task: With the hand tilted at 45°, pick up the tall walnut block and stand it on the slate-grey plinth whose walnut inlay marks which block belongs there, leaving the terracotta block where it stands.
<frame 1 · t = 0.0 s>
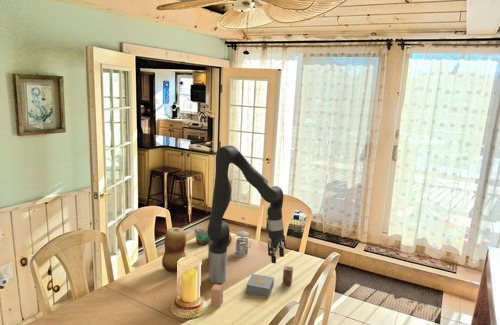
hand: (277, 259, 174), 22 cm above the table, tool pointing down, fingers open, 8 cm apart
flask: (215, 261, 217), on the table
food container: (201, 244, 241), on the table
bread roll: (223, 242, 247), on the table
butternut squash: (174, 270, 204), on the table
terracotta block: (216, 304, 173), on the table
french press: (242, 254, 229), on the table
walnut block: (287, 283, 196), on the table
slate plinth: (260, 289, 188), on the table
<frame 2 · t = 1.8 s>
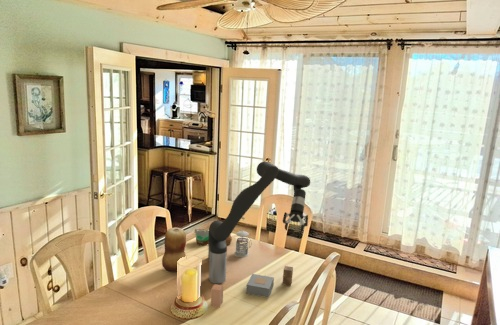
hand: (293, 231, 202), 26 cm above the table, tool tilted 45°, fingers open, 8 cm apart
nothing on the table moved.
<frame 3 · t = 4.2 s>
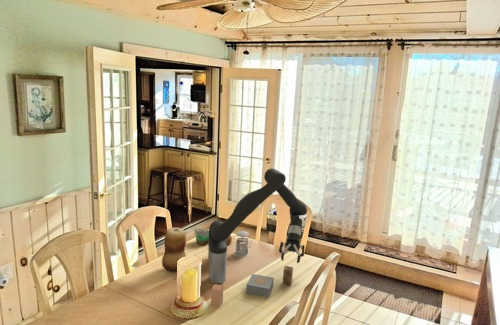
hand: (290, 261, 199), 10 cm above the table, tool tilted 45°, fingers open, 8 cm apart
nothing on the table moved.
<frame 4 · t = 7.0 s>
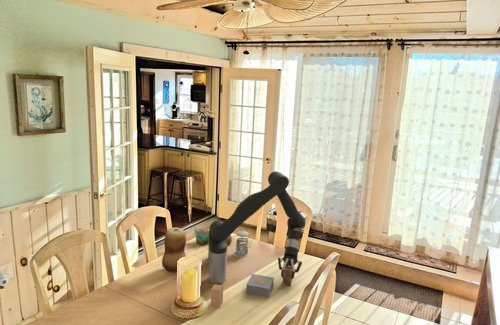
hand: (287, 278, 193), 4 cm above the table, tool tilted 45°, fingers closed on walnut block, 4 cm apart
walnut block: (287, 283, 196), on the table, touching gripper
everything else where it was.
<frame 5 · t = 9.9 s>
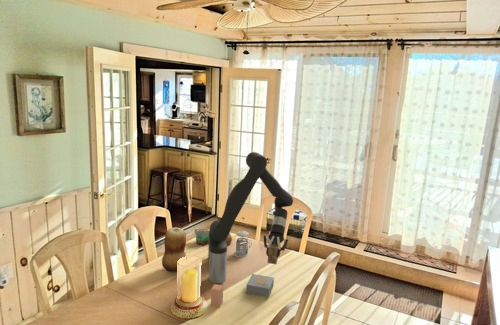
hand: (272, 256, 186), 19 cm above the table, tool tilted 45°, fingers closed on walnut block, 4 cm apart
walnut block: (272, 261, 189), point 15 cm above the table, touching gripper
everything else where it was.
when the fingers open (11 cm above the table, at t = 13.1 s): walnut block drops 1 cm, resting on slate plinth.
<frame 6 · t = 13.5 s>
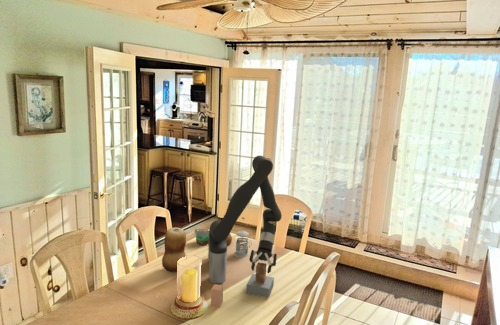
hand: (260, 271, 185), 11 cm above the table, tool tilted 45°, fingers open, 8 cm apart
walnut block: (260, 280, 187), point 5 cm above the table, touching slate plinth
everything else where it was.
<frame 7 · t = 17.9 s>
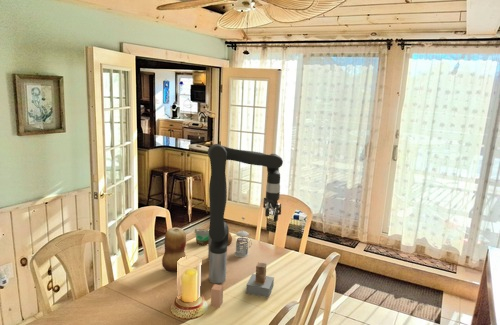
hand: (271, 218, 197), 34 cm above the table, tool pointing down, fingers open, 8 cm apart
nothing on the table moved.
at the end: walnut block inside the target area on the slate plinth (0.1 cm from its centre), point 5.1 cm above the slate plinth's base; walnut block tilted 0°; terracotta block moved 0.0 cm from its start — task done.
